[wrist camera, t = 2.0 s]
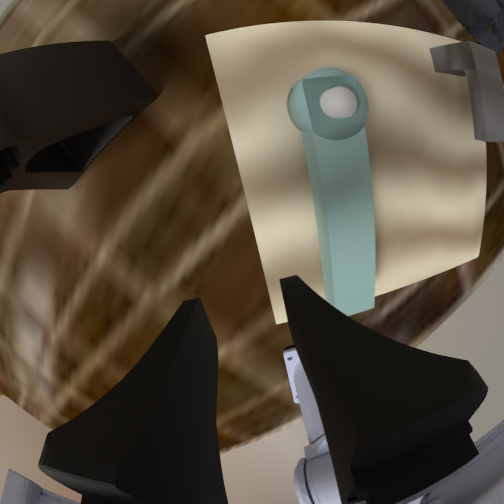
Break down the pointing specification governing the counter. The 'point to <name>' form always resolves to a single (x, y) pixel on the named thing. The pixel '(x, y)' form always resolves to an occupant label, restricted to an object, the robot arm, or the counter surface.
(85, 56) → the phone stand
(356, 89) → the link
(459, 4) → the dark grey cloth
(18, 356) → the counter surface
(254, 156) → the keeper board
